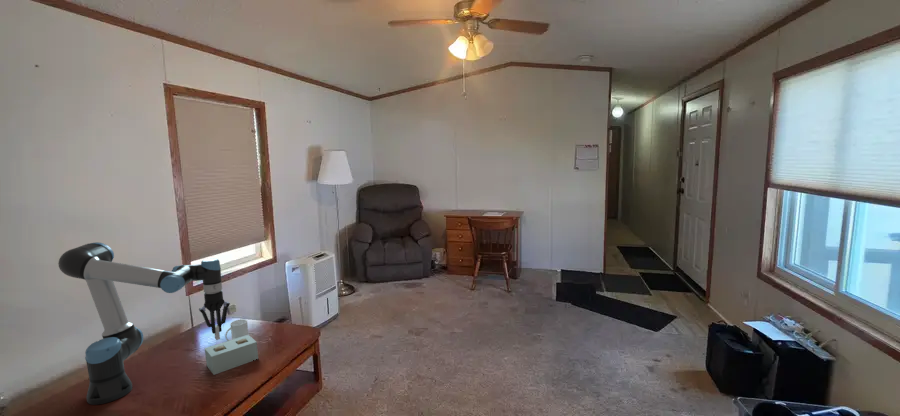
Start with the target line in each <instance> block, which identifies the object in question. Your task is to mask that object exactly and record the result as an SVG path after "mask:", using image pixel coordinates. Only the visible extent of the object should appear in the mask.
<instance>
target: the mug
mask: <svg viewBox="0 0 900 416" xmlns="http://www.w3.org/2000/svg"><path fill="white" fill-rule="evenodd" d="M229 325H230V326H229V328H228V329H227V330H226V332H225V334H224V335H225V337H224V338H225V340H226V341H230V340H233V339H236V338H239V337H242V336H246V335H249V336H250V334H249V329H248V328H249V326H248V320H247V319H245V318H244V319H241V318H240V319H236V320H234V321H231V322H230V324H229ZM229 331H230V332H231V339H228V336H227V335H228V333H229Z"/></svg>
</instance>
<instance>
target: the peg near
mask: <svg viewBox="0 0 900 416" xmlns="http://www.w3.org/2000/svg"><path fill="white" fill-rule="evenodd" d="M224 349H225V348H224V346H219V347H216V348H215V352H218V351H221V350H224Z"/></svg>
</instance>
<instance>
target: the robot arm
mask: <svg viewBox="0 0 900 416" xmlns="http://www.w3.org/2000/svg"><path fill="white" fill-rule="evenodd" d="M114 257H115V253H114V251H113V249H112V248H111V247H110V246H109V245H107V244H106V243H102V242H91V243H85V244H83V245H80V246H78V247H74V248H71V249H69V250H67V251H65V252H64V253H62V254H61V256H60V257H59V258H58V263H57V264H58V268H59V270H60V271H61V273H63V274H64V275H66V276H68V277H71V278H75V279H80V280H84V281H85V282H86V283H87V285H86V286H88V290H89V292H90V295H91V297H92V300H93V302H94V303H93V304H94V306H95V308H96V311H97V313H98V316H99V319H100V321H101V324H102V327H103V329H104V330H103V332H102V333H101V336H102V338H101V339H99V340H96V341H94V342H93V343H91V344H89V345H88V346H87V348H86V350H85V356H84V357H85V358H84V359H85V362H86V367H87V368H86V369H87V372H88V373H87V374H88V378H89V379H88V380H89V386H88V389H87V392H86V403H87V404H89V405H102V404H103V405H104V404H108V403H110V402H114V401H117V400H118V399H121V398H123V397H125V396H127V395H128V394H129V393H130V392H131V391H132V389H133V382H132V380H131V379H130V377H129V376H128V374H127V373H126V371H125V365H124V364H125V363H124V361H125V360H126V359H128V358H129V357H130V356H131V355H132V354H134V353H135V352H136V351H137V350H139V349H140V347H141V345H142V344H143V341H144V332H142V330H141V329H140V328H138V327H137V326H135V325H134V323H133V322H131V321H128V318H127V316H126V312H125V309H124V306H123V305H122V301H121V298H120V296H119V293H118V290H117V287H116V284H115V282H116V283H117V282H118V283H124V284H130V285H135V286H136V285H137V286H138V285H139V286H142V287H150V288H151V287H152V288H155V289H156V288H157V289H161V290H162V291H163V292H165V293H168V294H173V293H176V292H178V291H181V289H183V288H184V287H185V286H186V285H188V284H189V283H191V282H197V281H202V286H203V287H202V288H203V293H204V294H203V295H204V304H203V306H201V307H200V308H198V310H199V312H200V313H201V314H202V317H203V320H204V322H205V325H206V326H207V327H208V328H211V333H212V334H214V339H215V340H216V341H218V340H221V335H220V332H222V325H223V324H225V323H226V321H227V314H228V310H229V309H228V308H229V307H230V305H231V303H230V302H229V301H225V299H224V293H223V283H222V282H223V281H222V271H221V270H222V268H221V264H220V263H221V262H220V260H219V258H206V259H203V260H202V261H200V262H201V263H200V264H181V265H174V267H173V268H172V270H171V271H170V270H169V271H168V270H163V269H157V268H152V267H145V266H141V265H140V266H139V265H134V264H133V265H132V264H126V263H121V262H115V261H113V260H114ZM222 307H223V308H222ZM221 308H222V314H221ZM206 310H208V311H209V316H210V320H209V318H208V315H207V313H206ZM215 315H216V317H215Z"/></svg>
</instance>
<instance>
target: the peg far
mask: <svg viewBox="0 0 900 416" xmlns="http://www.w3.org/2000/svg"><path fill="white" fill-rule="evenodd" d="M245 342H246V339H241V340H238V341H237V343H238V345H239V344H242V343H245Z"/></svg>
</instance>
